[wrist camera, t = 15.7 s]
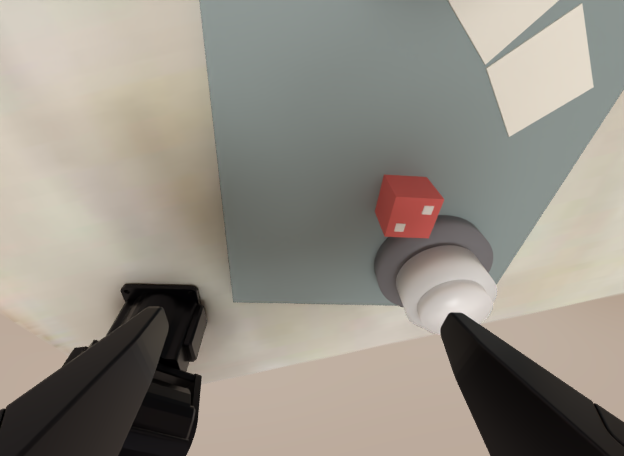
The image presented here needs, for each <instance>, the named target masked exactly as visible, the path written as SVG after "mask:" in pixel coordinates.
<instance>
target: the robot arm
mask: <svg viewBox="0 0 624 456" xmlns="http://www.w3.org/2000/svg"><path fill="white" fill-rule="evenodd" d="M191 291H192V292H191ZM121 293H122V295H123V298H124V300H125V302H126V303H125V304H124V306H123V308H122V309H121V311H120V313H119V315H118V316H117V318H116V320H115V321H114V323H113V325H112V326H111V328H110V330H109V331H108V333H107V335H106V337H104V338H103V339H101V340H100V341H97V340H93V342H92V343H91V344H90V346H89V347H86V346H85V347H79V348H74V350H73V351H72V352H71V354H70V355H69V357H68V359H67V360H66V362H65V363H64V365H63V366H62V368H60V369H59V370H57V371H56V372H55V373H53V374H52V375H50V376H49V377H47V378H46V379H45V380H43V381H42V382H40V383H39V384H37V385H36V386H35V387H33V388H32V389H30V390H29V391H28V392H26V393H25V394H23V395H22V396H21V397H19V398H18V399H16V400H15V401H13V402H12V403H11V404H9V405H8V406H7V407H6V409H1V410H0V456H186V455H187V453H188V451H189V449H190V446H191V444H192V440H193V438H194V435H195V432H196V428H197V422H198V410H199V400H200V389H201V377H202V376H201V375H198V374H191V373H188V372H186V371H187V368H188V364H189V362H194V361H195V360H196V359H197V355H198V352H199V348H200V345H201V342H202V338H203V335H204V331H205V328H206V324H207V320H206V315H205V310H204V307H203V305H201V302H200V298H199V293H198V289H197V288H196V287H194V286H169V285H129V284H127V285H124V286H123V287H122V289H121ZM440 333H441V338H442V340H443V343H444V346H445V349H446V352H447V355H448V358H449V361H450V364H451V367H452V370H453V373H454V376H455V378H456V380H457V382H458V385H459V387H460V390H461V392H462V394H463V396H464V398H465V400H466V403H467V405H468V407H469V409H470V411H471V414H472V416H473V418H474V420H475V423H476V425H477V427H478V429H479V431H480V434H481V436H482V438H483V440H484V442H485V444H486V447H487V449H488V451H489V453H490V456H624V422H623V421H621V420H620V419H618V418H617V417H615V416H614V415H612V414H611V413H609V412H608V411H606V410H605V409H604V408H602V407H601V406H599V405H598V404H595V403H594V404H593V402H592V401H591V400H590V399H588V398H587V397H585V396H584V395H582V394H581V393H579V392H578V391H576V390H575V389H573V388H572V387H571V386H569V385H568V384H566V383H565V382H563V381H562V380H560V379H559V378H557V377H556V376H554V375H553V374H551V373H550V372H549V371H547V370H546V369H544V368H543V367H541V366H540V365H538V364H537V363H535V362H534V361H532V360H531V359H529V358H528V357H526V356H525V355H524V354H522V353H521V352H519V351H518V350H516V349H515V348H513V347H512V346H510V345H509V344H507V343H506V342H505V341H503V340H501V339H500V338H499V337H497V336H496V335H494V334H493V333H491V332H490V331H488V330H487V329H485V328H484V327H482V326H481V325H480V324H478V323H477V322H475V321H474V320H472V319H471V318H469V317H468V316H466V315H465V314H463V313H460V312H451V313H449V314H448V315H447V317H446V319H445V320H444V322H443V324H442V326H441V329H440Z"/></svg>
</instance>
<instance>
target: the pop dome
mask: <svg viewBox="0 0 624 456" xmlns="http://www.w3.org/2000/svg"><path fill="white" fill-rule="evenodd" d="M396 287H397V290H398V293H399V296H400V299H401V301H402V304H403V307H404V310H405V312H406V315H407V317H408V319H409V320H410V321H411V322H412V323H413V324H415V325H416V326H419V327H421V328H425V329H426V330H427V331H429V332H431V333H434V334H439V335H441V333H440V329H441V326H442V324H443V322H444V320H445V319H446V317H447V315H448V314H449V313H451V312H460V313H463V314H465V315H466V316H468V317H469V318H471V319H472V320H474V321H475V322H477V323H478V324H481V323H482V322H483V321H485V320H486V319H487V318H488V316H489V315H490V313H491V312H492V309H493V302H494V301H495V298H496V296H497V286H496V284H495V282H494V280H493V279H492V278H491V276H490V275H489V274H488V272H487V271H486V270H485V268H484V267H483V265H482V264H481V263H480V261H479V260H478V259H477V257H476V256H475V255H474V254H473V253H472V252H471V251H470V250H468V249H466V248H463V247H460V246H454V245H444V246H437V247H433V248H430V249H427V250H424V251H422V252H420V253H418V254H416V255H415V256H413V257H412V258H410V259H409V260H408V261H407V262H406V263H405V264H404V265H403V266H402V267H401V269H400V270H399V272H398V274H397V278H396Z"/></svg>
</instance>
